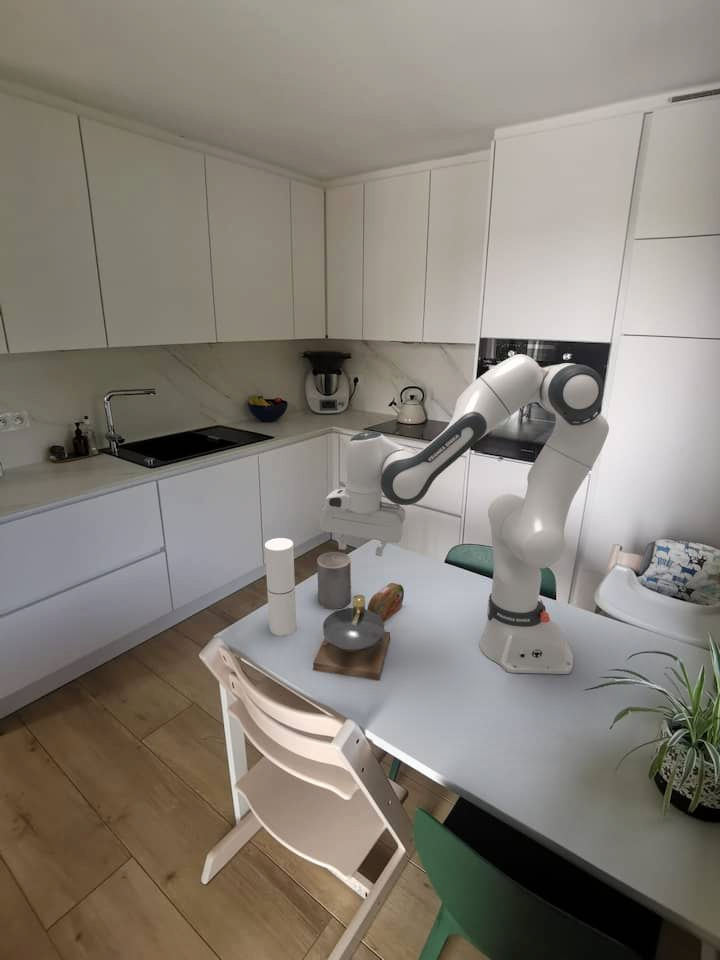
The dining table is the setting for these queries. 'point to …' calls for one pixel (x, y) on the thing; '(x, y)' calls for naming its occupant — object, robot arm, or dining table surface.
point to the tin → (387, 601)
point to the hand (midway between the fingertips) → (360, 551)
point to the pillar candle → (334, 580)
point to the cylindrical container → (280, 586)
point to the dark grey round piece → (353, 628)
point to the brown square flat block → (353, 660)
